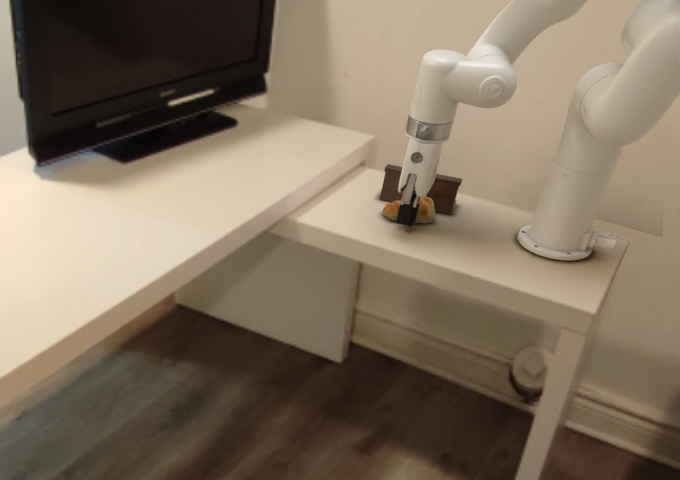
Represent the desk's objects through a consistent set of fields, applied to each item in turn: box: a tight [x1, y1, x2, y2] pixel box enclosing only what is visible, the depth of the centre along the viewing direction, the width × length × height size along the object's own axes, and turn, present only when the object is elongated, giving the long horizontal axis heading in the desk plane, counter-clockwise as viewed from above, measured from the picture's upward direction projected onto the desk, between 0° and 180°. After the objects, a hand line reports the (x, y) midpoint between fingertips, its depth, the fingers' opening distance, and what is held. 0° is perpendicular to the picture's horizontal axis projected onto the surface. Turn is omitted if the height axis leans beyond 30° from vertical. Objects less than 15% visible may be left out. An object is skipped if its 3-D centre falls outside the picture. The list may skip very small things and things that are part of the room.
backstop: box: [379, 163, 463, 215], centre depth 156 cm, size 14×5×7 cm, turn 62°
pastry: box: [382, 196, 436, 224], centre depth 152 cm, size 9×7×4 cm
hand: (405, 223), depth 149 cm, fingers closed
